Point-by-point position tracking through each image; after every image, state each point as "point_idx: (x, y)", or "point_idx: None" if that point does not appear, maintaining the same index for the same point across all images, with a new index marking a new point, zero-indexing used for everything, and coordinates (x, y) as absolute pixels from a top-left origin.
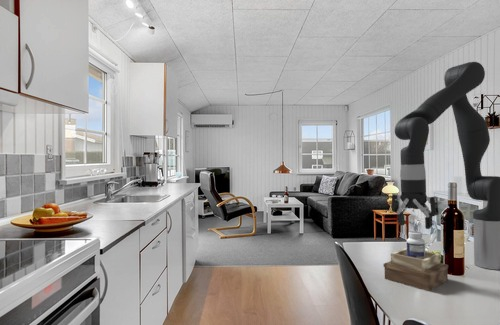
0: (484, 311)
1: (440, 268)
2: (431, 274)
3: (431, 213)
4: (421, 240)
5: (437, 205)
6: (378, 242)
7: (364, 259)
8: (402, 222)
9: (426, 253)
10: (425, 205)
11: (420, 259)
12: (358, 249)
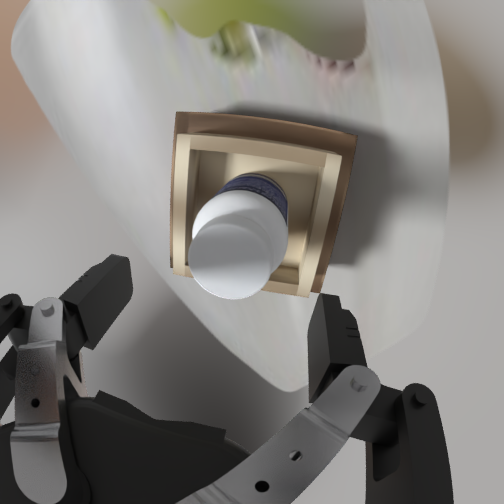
0: (417, 302)
1: (342, 202)
2: (324, 274)
3: (367, 441)
4: (275, 260)
5: (443, 477)
6: None
7: (73, 118)
8: (121, 293)
9: (280, 158)
10: (301, 481)
11: (290, 289)
12: (37, 54)
